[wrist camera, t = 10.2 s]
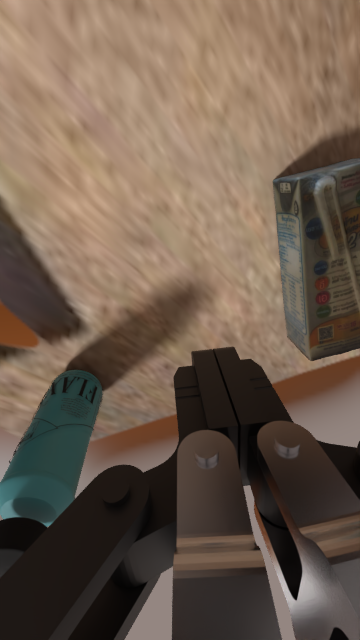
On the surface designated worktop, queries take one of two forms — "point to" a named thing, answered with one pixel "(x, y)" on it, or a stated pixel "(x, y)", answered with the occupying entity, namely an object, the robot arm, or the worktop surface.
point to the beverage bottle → (47, 463)
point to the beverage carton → (320, 257)
